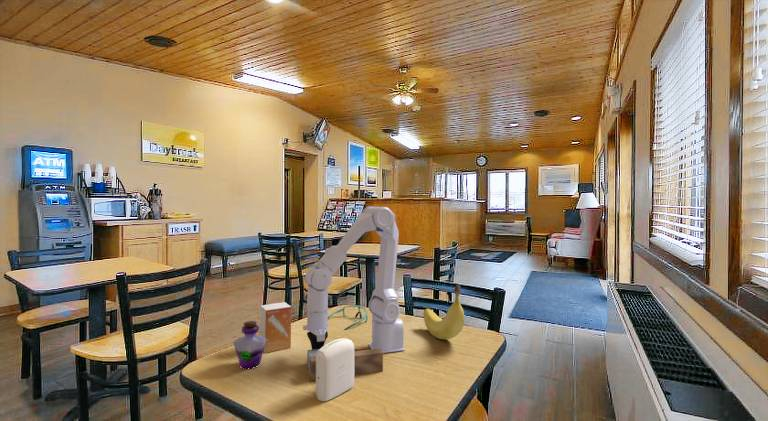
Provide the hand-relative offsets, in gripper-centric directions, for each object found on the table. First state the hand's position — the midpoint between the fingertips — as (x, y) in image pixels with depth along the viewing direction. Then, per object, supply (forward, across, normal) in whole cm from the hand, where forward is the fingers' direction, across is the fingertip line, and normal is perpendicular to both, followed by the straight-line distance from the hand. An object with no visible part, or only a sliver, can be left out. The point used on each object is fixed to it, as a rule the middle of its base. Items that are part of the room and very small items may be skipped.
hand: (317, 357), depth 106 cm
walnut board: (+1, +9, +6) cm, 11 cm away
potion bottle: (+1, -3, -18) cm, 18 cm away
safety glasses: (+2, -32, +16) cm, 35 cm away
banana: (+1, -7, +42) cm, 43 cm away
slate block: (+1, +4, 0) cm, 4 cm away
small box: (+2, -14, -11) cm, 18 cm away
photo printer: (+1, +18, +2) cm, 18 cm away
